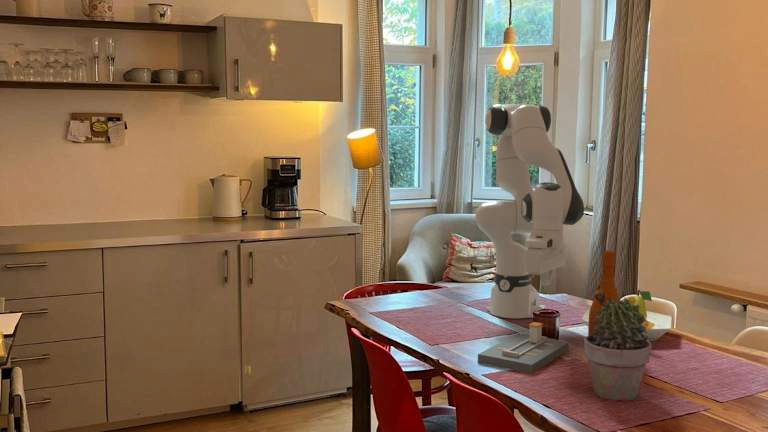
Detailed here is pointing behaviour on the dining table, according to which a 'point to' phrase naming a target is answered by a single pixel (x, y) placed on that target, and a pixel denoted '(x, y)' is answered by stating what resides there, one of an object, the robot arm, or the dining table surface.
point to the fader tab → (535, 332)
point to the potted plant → (617, 349)
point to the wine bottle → (604, 287)
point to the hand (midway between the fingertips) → (546, 285)
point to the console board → (523, 353)
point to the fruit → (654, 318)
